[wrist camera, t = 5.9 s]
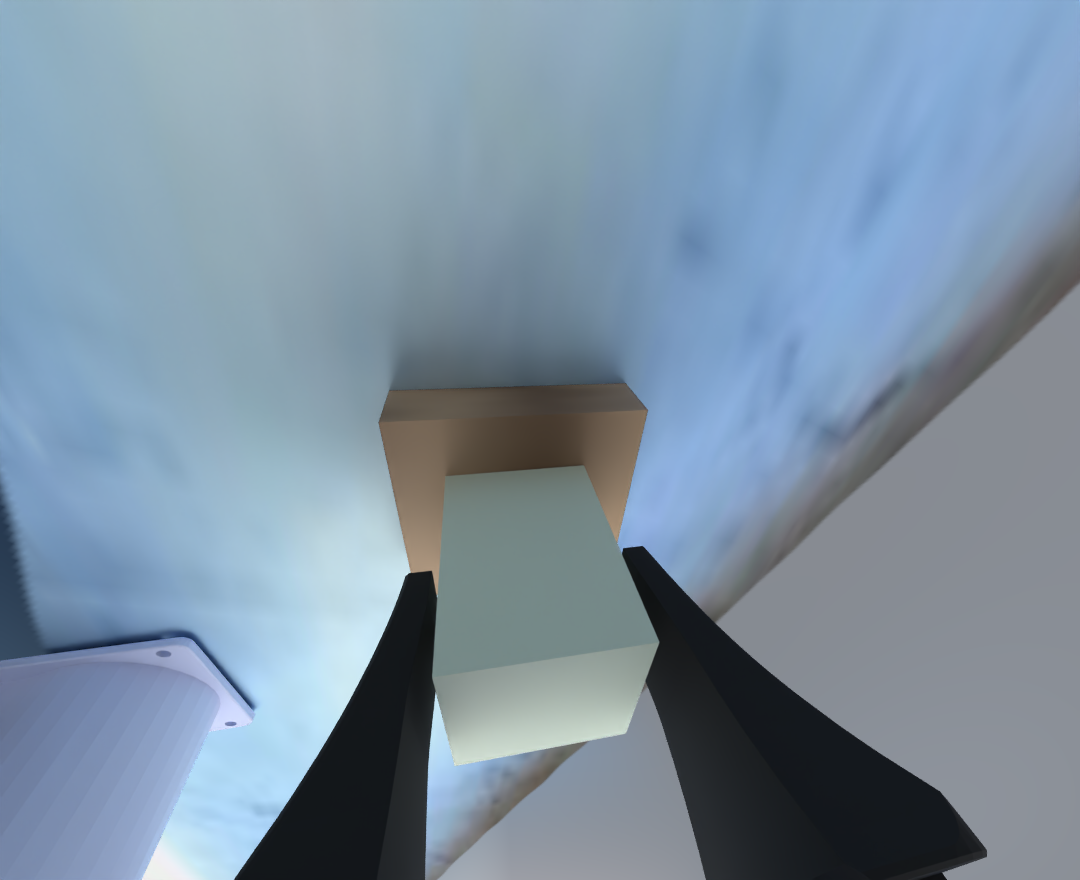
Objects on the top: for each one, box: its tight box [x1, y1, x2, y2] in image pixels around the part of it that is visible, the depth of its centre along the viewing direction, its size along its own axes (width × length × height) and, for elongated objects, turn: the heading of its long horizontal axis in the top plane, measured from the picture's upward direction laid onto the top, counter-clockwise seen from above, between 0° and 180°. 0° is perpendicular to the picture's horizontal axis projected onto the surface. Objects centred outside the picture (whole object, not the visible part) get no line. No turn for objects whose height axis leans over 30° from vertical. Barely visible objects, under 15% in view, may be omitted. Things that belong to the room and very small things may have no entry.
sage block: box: [432, 465, 659, 766], centre depth 11 cm, size 4×4×6 cm
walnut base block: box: [379, 383, 648, 595], centre depth 15 cm, size 8×8×2 cm
